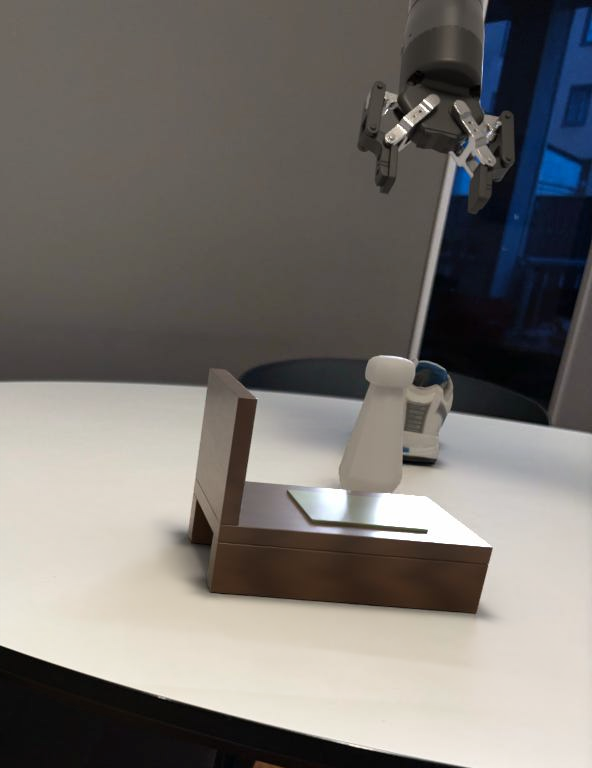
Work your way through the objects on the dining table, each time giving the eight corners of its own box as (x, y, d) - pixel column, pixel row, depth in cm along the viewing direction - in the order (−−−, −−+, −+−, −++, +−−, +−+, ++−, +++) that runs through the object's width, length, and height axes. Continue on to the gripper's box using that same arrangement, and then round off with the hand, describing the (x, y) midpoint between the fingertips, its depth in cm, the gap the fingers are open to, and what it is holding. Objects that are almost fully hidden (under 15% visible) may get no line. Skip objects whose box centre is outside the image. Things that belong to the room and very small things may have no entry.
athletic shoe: (431, 432, 134) (428, 339, 129) (471, 472, 113) (470, 363, 108) (354, 441, 135) (348, 350, 131) (379, 483, 114) (373, 375, 110)
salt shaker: (330, 487, 98) (355, 350, 93) (389, 494, 98) (417, 356, 93) (339, 502, 93) (367, 357, 88) (402, 509, 93) (432, 364, 88)
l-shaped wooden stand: (414, 553, 79) (450, 391, 75) (476, 613, 67) (524, 423, 63) (187, 535, 78) (209, 367, 73) (210, 592, 66) (238, 396, 61)
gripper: (386, 6, 93) (373, 152, 88) (533, 41, 94) (527, 186, 89) (356, 71, 100) (343, 209, 95) (493, 102, 101) (486, 240, 97)
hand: (432, 197), depth 92 cm, fingers open, 8 cm apart
